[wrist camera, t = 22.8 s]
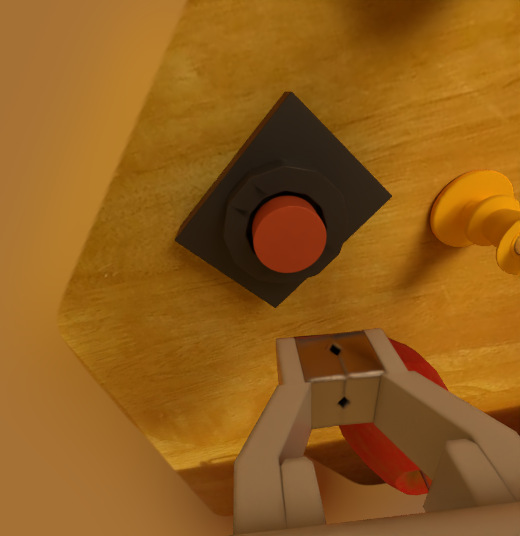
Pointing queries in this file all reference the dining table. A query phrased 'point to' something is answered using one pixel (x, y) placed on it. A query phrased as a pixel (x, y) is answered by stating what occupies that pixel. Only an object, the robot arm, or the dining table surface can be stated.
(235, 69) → the dining table surface
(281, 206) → the button
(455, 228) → the candle
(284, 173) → the button box
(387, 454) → the apple
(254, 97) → the dining table surface
